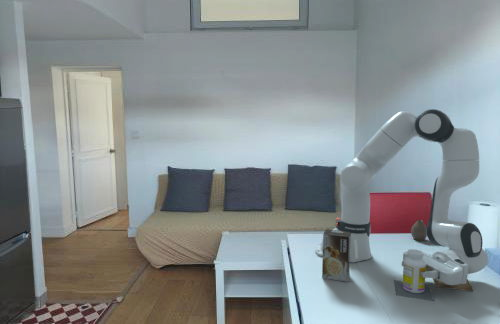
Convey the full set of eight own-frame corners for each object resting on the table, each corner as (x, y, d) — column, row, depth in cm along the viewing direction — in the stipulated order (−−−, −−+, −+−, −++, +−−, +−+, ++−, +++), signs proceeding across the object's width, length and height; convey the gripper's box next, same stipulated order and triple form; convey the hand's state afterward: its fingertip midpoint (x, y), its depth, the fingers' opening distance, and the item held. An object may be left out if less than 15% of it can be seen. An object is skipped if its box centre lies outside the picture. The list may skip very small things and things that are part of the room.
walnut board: (435, 286, 123) (435, 283, 123) (430, 273, 134) (430, 270, 133) (472, 291, 120) (472, 288, 120) (464, 277, 130) (464, 274, 130)
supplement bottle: (423, 286, 122) (425, 249, 121) (425, 295, 116) (428, 256, 114) (401, 283, 124) (403, 247, 123) (402, 292, 118) (405, 254, 117)
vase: (428, 242, 167) (430, 223, 166) (412, 241, 168) (413, 222, 167) (424, 237, 173) (426, 219, 172) (409, 236, 175) (410, 218, 174)
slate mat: (396, 295, 117) (396, 294, 117) (394, 280, 127) (394, 279, 127) (434, 300, 113) (434, 300, 113) (428, 285, 124) (429, 284, 124)
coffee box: (350, 275, 131) (352, 231, 129) (348, 282, 125) (350, 237, 123) (324, 270, 135) (326, 228, 133) (321, 278, 129) (322, 233, 127)
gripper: (421, 244, 133) (390, 249, 128) (472, 266, 114) (438, 272, 109) (420, 261, 134) (389, 266, 129) (470, 286, 115) (436, 292, 110)
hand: (412, 269), depth 119 cm, fingers open, 7 cm apart
